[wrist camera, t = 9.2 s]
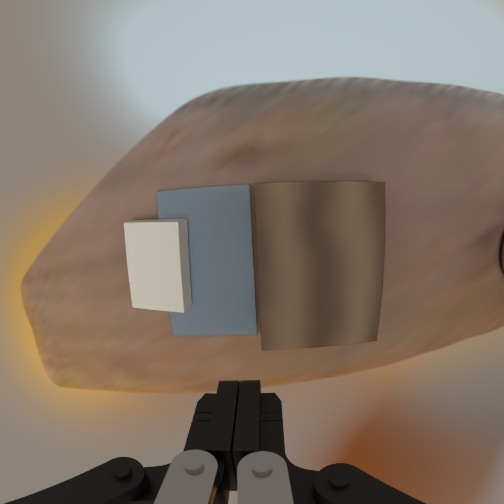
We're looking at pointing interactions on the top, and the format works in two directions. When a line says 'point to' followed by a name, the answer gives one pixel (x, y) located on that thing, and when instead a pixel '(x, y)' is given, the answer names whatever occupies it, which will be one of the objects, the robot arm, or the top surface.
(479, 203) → the top surface
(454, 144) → the top surface
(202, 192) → the mat
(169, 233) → the cream thick tile
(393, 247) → the top surface
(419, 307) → the top surface
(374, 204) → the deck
